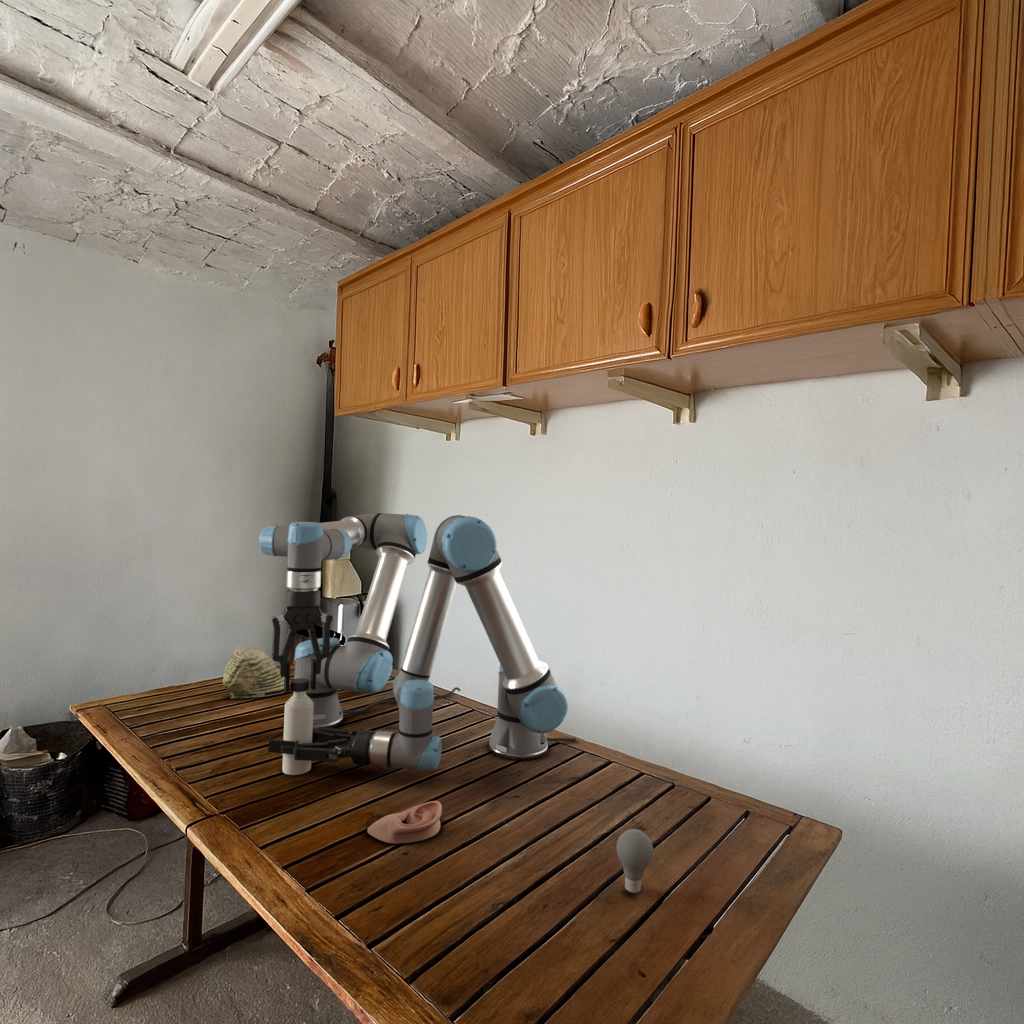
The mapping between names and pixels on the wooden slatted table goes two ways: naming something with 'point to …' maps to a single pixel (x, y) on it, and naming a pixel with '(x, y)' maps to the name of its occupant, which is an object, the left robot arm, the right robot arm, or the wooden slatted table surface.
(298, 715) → the bottle
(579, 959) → the wooden slatted table surface
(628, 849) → the light bulb
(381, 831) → the anatomical model
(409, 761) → the right robot arm
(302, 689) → the cap
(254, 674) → the fossil
